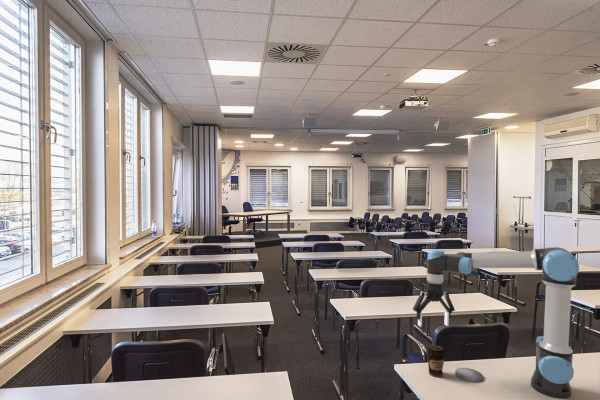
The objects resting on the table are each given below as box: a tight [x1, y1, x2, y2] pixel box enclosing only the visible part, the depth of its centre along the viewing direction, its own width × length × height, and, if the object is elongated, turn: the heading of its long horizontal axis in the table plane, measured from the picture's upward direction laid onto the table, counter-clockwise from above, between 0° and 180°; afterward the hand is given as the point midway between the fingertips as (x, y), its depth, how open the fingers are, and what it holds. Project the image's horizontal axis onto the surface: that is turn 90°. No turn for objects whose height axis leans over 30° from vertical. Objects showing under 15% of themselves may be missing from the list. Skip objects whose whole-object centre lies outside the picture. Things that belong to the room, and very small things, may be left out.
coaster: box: [454, 367, 484, 383], centre depth 176 cm, size 12×12×1 cm
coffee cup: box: [426, 344, 446, 378], centre depth 177 cm, size 9×8×13 cm
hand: (433, 325), depth 177 cm, fingers open, 13 cm apart
